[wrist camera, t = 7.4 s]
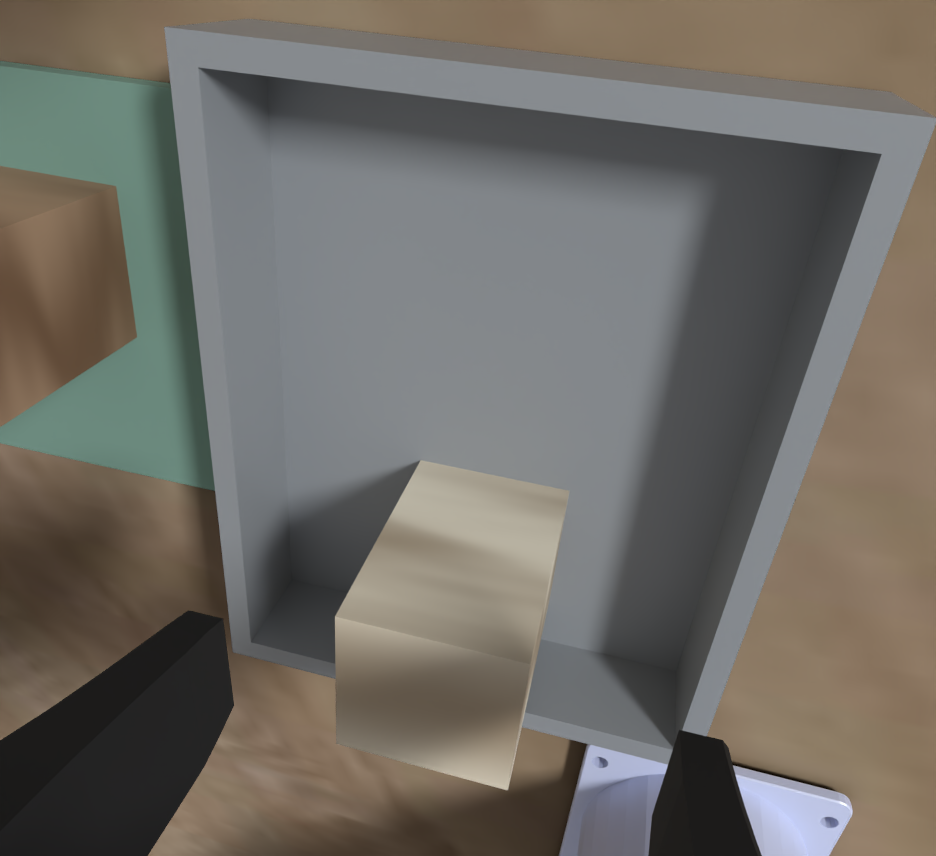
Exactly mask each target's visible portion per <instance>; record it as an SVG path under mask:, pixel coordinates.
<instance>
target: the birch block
mask: <svg viewBox="0 0 936 856" xmlns="http://www.w3.org/2000/svg"><path fill="white" fill-rule="evenodd" d="M568 496H569V491H568V490H563V489H558V488H553V487H549V486H544V485H539V484H534V483H529V482H524V481H519V480H515V479H510V478H505V477H500V476H495V475H490V474H485V473H481V472H476V471H471V470H466V469H461V468H456V467H451V466H447V465H442V464H437V463H432V462H427V461H422V460H421V461H420V462H419V464H418V466H417V468H416V470H415V472H414V473H413V475H412V477H411V479H410V481H409V483H408V484H407V486H406V488H405V490H404V492H403V493H402V495H401V497H400V499H399V501H398V503H397V504H396V506H395V508H394V510H393V512H392V514H391V515H390V517H389V519H388V521H387V523H386V524H385V526H384V528H383V530H382V532H381V534H380V535H379V537H378V539H377V541H376V543H375V544H374V546H373V548H372V550H371V552H370V554H369V555H368V557H367V559H366V561H365V563H364V565H363V566H362V568H361V570H360V572H359V574H358V575H357V577H356V579H355V581H354V583H353V585H352V586H351V588H350V590H349V592H348V594H347V596H346V597H345V599H344V601H343V603H342V605H341V606H340V608H339V610H338V612H337V614H336V616H335V667H336V744H339V745H343V746H347V747H350V748H354V749H358V750H361V751H365V752H369V753H372V754H376V755H380V756H383V757H387V758H391V759H394V760H398V761H402V762H405V763H409V764H413V765H416V766H420V767H424V768H427V769H431V770H435V771H438V772H442V773H446V774H449V775H453V776H457V777H460V778H464V779H468V780H471V781H475V782H479V783H482V784H486V785H490V786H493V787H497V788H500V789H504V790H508V787H509V782H510V778H511V773H512V769H513V764H514V760H515V755H516V750H517V746H518V741H519V737H520V732H521V728H522V723H523V719H524V714H525V709H526V705H527V700H528V696H529V691H530V687H531V682H532V677H533V673H534V668H535V664H536V659H537V655H538V650H539V646H540V641H541V636H542V632H543V627H544V623H545V618H546V614H547V609H548V605H549V599H550V594H551V588H552V583H553V577H554V572H555V567H556V561H557V556H558V550H559V545H560V539H561V534H562V529H563V523H564V518H565V512H566V507H567V501H568Z"/></svg>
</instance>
